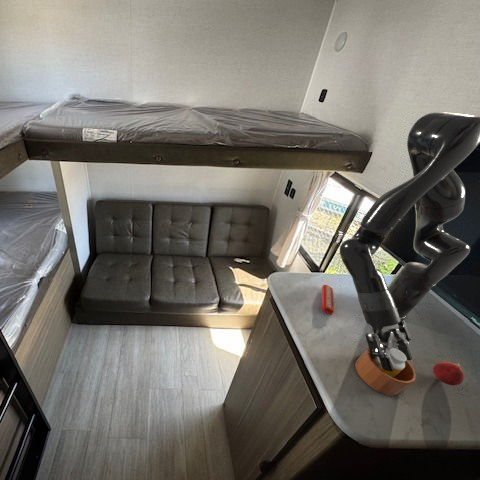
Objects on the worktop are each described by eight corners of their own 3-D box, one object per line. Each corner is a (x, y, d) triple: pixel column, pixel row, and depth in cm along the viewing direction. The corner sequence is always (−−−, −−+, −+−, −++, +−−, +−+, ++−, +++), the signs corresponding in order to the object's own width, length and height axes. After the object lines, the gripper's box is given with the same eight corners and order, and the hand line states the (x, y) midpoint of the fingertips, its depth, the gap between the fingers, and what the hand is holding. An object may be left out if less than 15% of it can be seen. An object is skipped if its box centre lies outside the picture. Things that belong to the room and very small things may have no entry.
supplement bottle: (393, 381, 72) (416, 362, 67) (378, 385, 71) (399, 366, 65) (376, 363, 77) (395, 343, 71) (361, 366, 76) (380, 346, 70)
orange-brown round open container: (369, 352, 80) (381, 339, 76) (408, 386, 72) (424, 373, 68) (346, 364, 76) (358, 351, 72) (385, 402, 68) (401, 389, 64)
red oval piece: (457, 392, 71) (479, 378, 67) (435, 387, 72) (455, 373, 68) (443, 372, 76) (462, 357, 71) (422, 368, 77) (440, 353, 72)
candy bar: (331, 317, 91) (335, 312, 89) (320, 313, 92) (324, 308, 90) (330, 289, 103) (333, 284, 101) (320, 286, 104) (323, 281, 102)
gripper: (376, 314, 65) (399, 379, 63) (408, 299, 70) (430, 358, 68) (347, 312, 72) (367, 370, 70) (378, 298, 77) (397, 352, 75)
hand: (398, 364), depth 69 cm, fingers open, 8 cm apart
